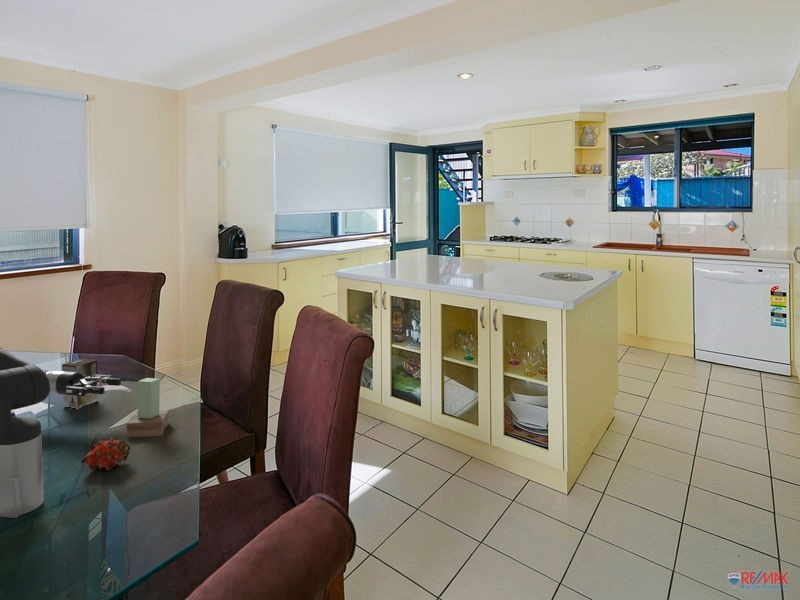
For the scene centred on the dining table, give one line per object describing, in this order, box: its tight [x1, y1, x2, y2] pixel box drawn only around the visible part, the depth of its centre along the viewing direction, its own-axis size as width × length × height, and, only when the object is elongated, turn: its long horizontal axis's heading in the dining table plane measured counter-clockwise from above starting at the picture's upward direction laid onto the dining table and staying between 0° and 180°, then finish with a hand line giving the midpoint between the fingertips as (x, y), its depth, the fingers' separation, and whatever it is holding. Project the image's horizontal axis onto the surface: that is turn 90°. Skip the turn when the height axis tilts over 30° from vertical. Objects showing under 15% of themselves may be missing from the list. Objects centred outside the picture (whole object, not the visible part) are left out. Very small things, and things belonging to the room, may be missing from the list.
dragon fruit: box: [80, 437, 131, 471], centre depth 131 cm, size 8×8×12 cm
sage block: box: [137, 377, 161, 419], centre depth 155 cm, size 4×4×12 cm
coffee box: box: [61, 357, 99, 408], centre depth 172 cm, size 9×6×16 cm
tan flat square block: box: [126, 410, 169, 438], centre depth 156 cm, size 10×10×5 cm
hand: (112, 386), depth 154 cm, fingers open, 8 cm apart
